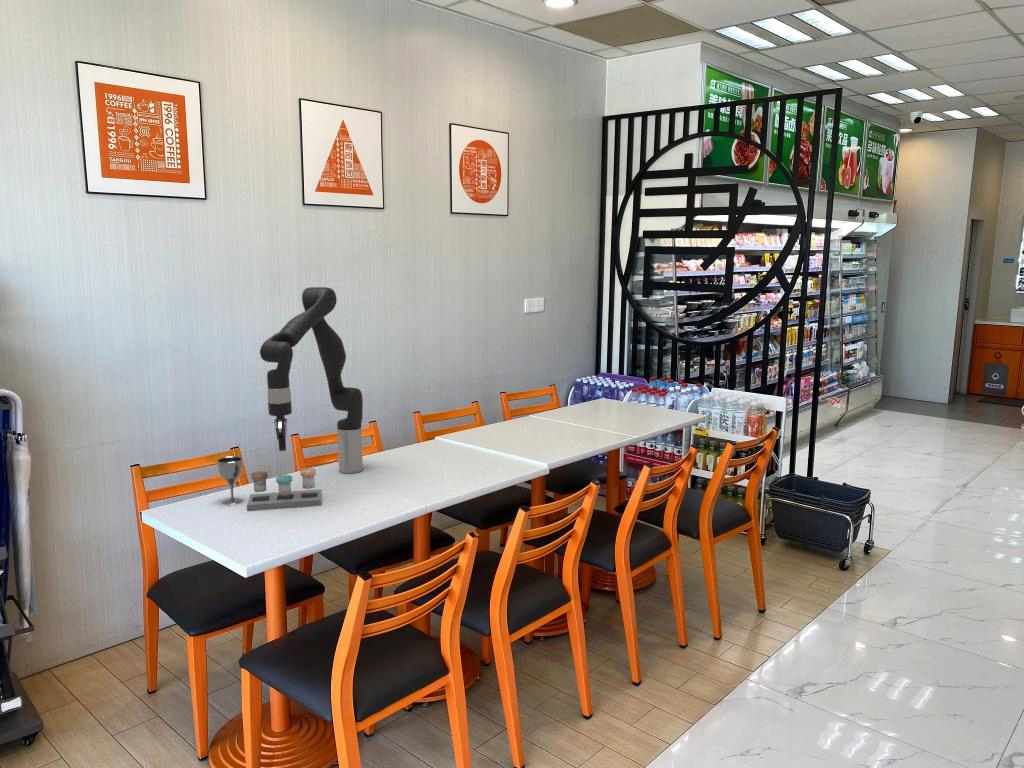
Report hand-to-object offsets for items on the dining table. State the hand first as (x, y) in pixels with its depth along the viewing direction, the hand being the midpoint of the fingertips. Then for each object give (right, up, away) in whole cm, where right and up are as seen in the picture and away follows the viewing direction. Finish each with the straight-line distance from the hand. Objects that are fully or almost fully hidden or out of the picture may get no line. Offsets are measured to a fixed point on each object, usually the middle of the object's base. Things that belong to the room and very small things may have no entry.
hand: (282, 450), depth 262 cm
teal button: (0, -15, +3) cm, 16 cm away
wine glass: (-19, -18, +5) cm, 27 cm away
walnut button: (-8, -14, +1) cm, 16 cm away
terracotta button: (+8, -13, +4) cm, 16 cm away
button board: (0, -18, +3) cm, 19 cm away
